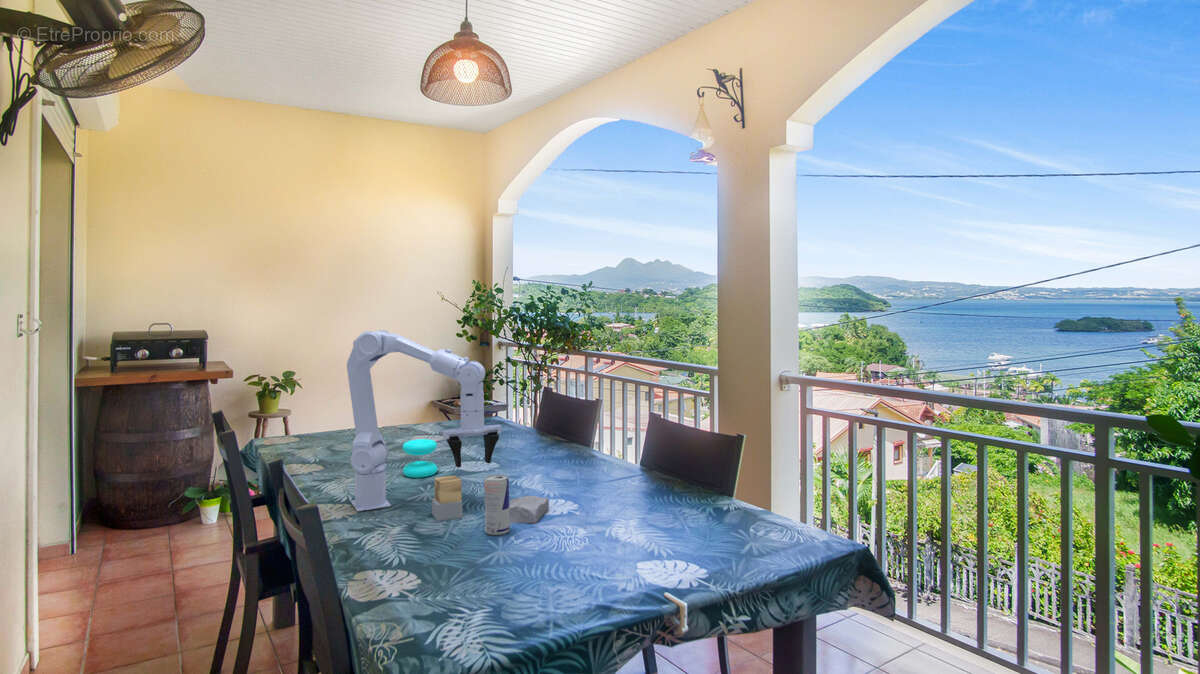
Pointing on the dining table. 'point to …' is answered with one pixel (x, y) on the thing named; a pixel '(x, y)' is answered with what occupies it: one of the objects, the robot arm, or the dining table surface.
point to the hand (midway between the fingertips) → (473, 464)
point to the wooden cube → (448, 489)
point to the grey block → (447, 510)
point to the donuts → (420, 467)
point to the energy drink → (496, 504)
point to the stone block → (527, 509)
